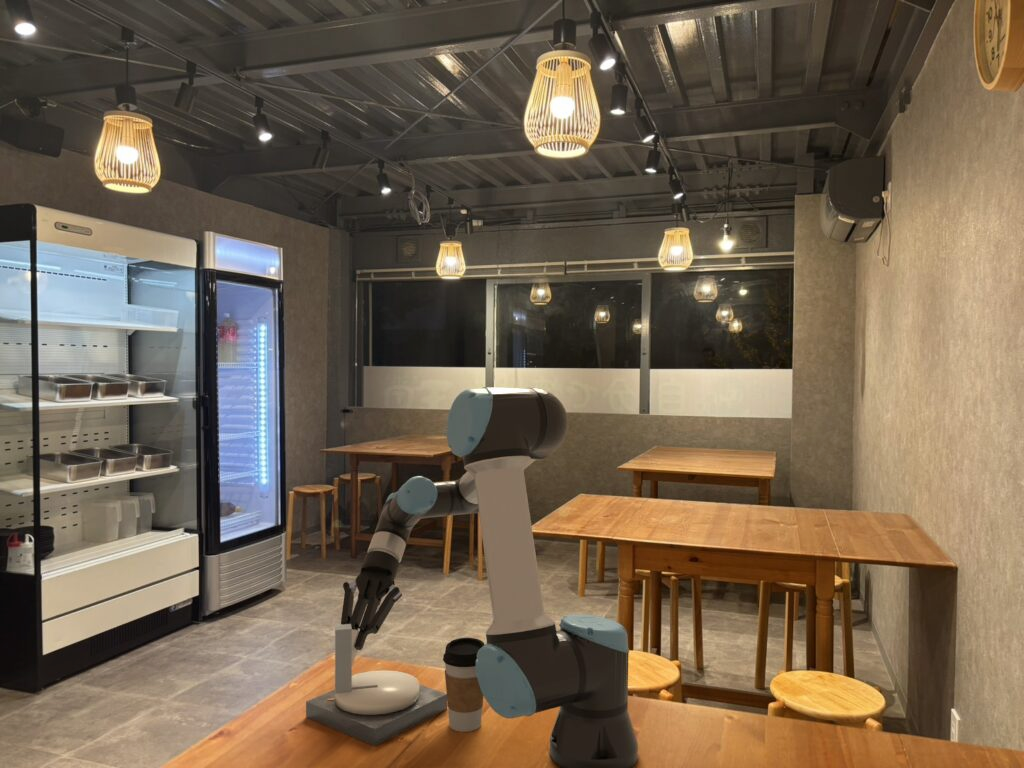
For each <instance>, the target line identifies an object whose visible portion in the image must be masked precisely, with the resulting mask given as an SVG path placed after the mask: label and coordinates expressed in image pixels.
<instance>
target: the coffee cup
mask: <svg viewBox="0 0 1024 768" xmlns="http://www.w3.org/2000/svg"><path fill="white" fill-rule="evenodd" d="M484 645H485V642H484V641H483V640H481V639H479V638H475V637H474V638H473V637H459V638H455V639H452V640H451V641H449V642H448V643H447V644H446V646H445V652H444V654H443V657H442V661H443V663H444V665H445V667H444V668H445V669H444V676H445V677H444V678H445V680H444V681H445V690H446V694H447V710H448V724H449V727H450V729H452V730H453V731H457V732H459V733H460V732H462V733H463V732H465V733H467V732H473V731H475V730H478V729H479V728H480V727H481V726H482V725H481V724H482V719H483V717H482V715H483V706H484V705H483V704H484V696H483V694H482V691H481V689H480V686H479V683H478V679H477V674H476V659H477V653H478V651H479V649H480V648H482V647H483V646H484Z"/></svg>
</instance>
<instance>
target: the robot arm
mask: <svg viewBox="0 0 1024 768" xmlns="http://www.w3.org/2000/svg"><path fill="white" fill-rule="evenodd" d="M568 430H569V417H568V413H567V411H566V409H565V406H564V404H563V403H562V402H561V401H560V399H559V398H558V397H557V396H555V395H554V394H553V393H552V392H550V391H547V390H546V389H542V388H537V387H522V388H521V387H487V386H483V387H481V388H479V387H478V388H469V389H465V390H462V391H461V392H460V393H459V394H458V395H457V396H455V399H454V400H453V402H452V404H451V407H450V409H449V412H448V415H447V421H446V441H447V445H448V447H449V448H450V451H451V453H452V454H453V455H455V456H457V457H459V458H462V460H463V468H464V470H465V471H466V472H465V473H464V474H462V476H461V477H460V478H458V479H456V480H447V481H446V480H445V481H435V482H434V481H432V480H431V479H429V478H427V477H424V476H423V475H416V476H413V477H411V478H409V479H408V480H407V481H406V482H405V483H403V484H402V485H401V486H400V488H399V489H398V490H397V491H396V492H392V493H390V494H389V495H388V496H387V499H386V501H385V503H384V504H383V506H382V510H381V514H380V517H379V520H378V521H377V525H376V527H375V531H374V533H373V535H372V538H371V540H370V543H369V546H368V549H367V553H366V554H365V557H364V560H363V563H362V564H361V568H360V573H359V574H358V575H357V576H356V577H355V580H354V581H351V582H348V581H345V582H343V583H342V587H343V591H344V593H343V594H344V595H343V602H342V603H343V604H342V609H341V610H342V611H341V617H340V625H343V624H351V627H352V667H353V666H354V662H355V659H356V657H357V654H358V651H362V649H363V647H364V645H365V642H366V639H367V637H368V635H370V634H374V635H375V634H376V635H377V634H378V632H379V631H380V629H381V627H382V626H383V624H384V622H385V620H386V619H387V617H388V615H389V614H390V612H391V610H392V608H393V606H394V605H395V603H396V602H397V601H398V600H399V599H400V598H402V596H403V594H402V591H401V590H400V588H399V587H398V586H396V585H395V579H396V577H397V574H398V572H399V569H400V568H399V567H400V563H401V561H402V558H403V555H404V553H405V550H406V547H407V543H408V540H409V538H410V534H411V531H412V530H413V528H414V527H415V526H416V525H417V524H418V523H419V521H420V520H421V519H428V518H438V517H447V516H457V515H458V516H460V515H468V514H469V515H476V514H478V515H479V523H480V530H481V531H480V532H481V538H482V546H483V553H484V561H485V568H486V575H487V576H486V577H487V585H488V591H489V599H490V606H491V613H492V621H491V623H490V625H489V626H488V627H487V629H486V630H485V638H486V644H485V643H484V644H485V645H484V646H483V647H482V648H480V649H479V651H478V653H477V659H476V674H477V679H478V683H479V686H480V689H481V691H482V694H483V699H485V701H486V702H487V704H488V705H489V707H490V708H491V709H492V710H493V712H494V713H496V714H497V715H498V716H500V717H502V718H505V719H516V718H521V717H531V716H533V715H535V714H538V713H541V712H545V711H548V710H549V711H550V710H552V709H556V708H559V710H558V712H557V715H556V719H555V722H554V725H553V728H552V731H551V734H550V738H549V755H550V758H551V759H552V761H553V762H554V763H556V765H558V766H560V767H561V768H633V767H634V766H635V765H636V763H637V761H638V759H639V745H638V740H637V737H636V734H635V730H634V726H633V723H632V720H631V716H630V714H629V699H628V698H629V653H630V649H629V643H628V642H629V640H628V638H629V637H628V636H629V635H628V632H627V629H626V628H625V627H624V626H623V625H622V624H621V623H619V622H617V621H615V620H612V619H609V618H606V617H601V616H598V615H597V616H596V615H591V614H580V613H579V614H568V615H565V616H563V617H562V618H561V619H560V623H559V625H558V626H559V627H560V629H558V630H557V628H556V622H555V620H553V619H552V618H551V617H550V616H548V615H547V613H546V612H545V608H544V602H543V601H544V600H543V594H542V587H541V581H540V573H539V568H538V561H537V555H536V547H535V541H534V532H533V527H532V521H531V514H530V513H531V512H530V506H529V500H528V492H527V486H526V479H525V473H524V471H525V470H526V469H527V468H528V467H529V466H531V464H533V462H535V461H542V460H545V459H547V458H548V457H549V456H551V455H552V454H553V453H554V452H555V451H557V450H558V449H559V447H560V446H561V445H562V444H563V443H564V441H565V439H566V436H567V434H568ZM356 589H357V590H358V595H357V600H356V603H355V605H354V601H355V600H354V599H355V595H354V594H356ZM384 597H385V598H384ZM383 598H384V599H383ZM382 599H383V601H382ZM381 601H382V602H381Z"/></svg>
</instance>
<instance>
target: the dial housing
mask: <svg viewBox="0 0 1024 768" xmlns="http://www.w3.org/2000/svg"><path fill="white" fill-rule="evenodd" d="M447 710H448V702H447V692H443V691H440V690H437V689H434V688H432V687H428V686H424V685H421V684H419V698H418V700H417V701H416V702H415V703H414V704H412V705H411V706H409V707H407V708H405V709H402V710H399V711H396V712H392V713H387V714H378V715H363V714H355V713H351V712H347V711H345V710H343V709H341V708H339V707H338V706H337V705H336V703H335V689H333V690H330V691H329V692H326V693H323V694H321V695H319V696H315V697H314V698H311V699H308V700H306V702H305V718H308V719H309V718H310V719H309V720H312V719H313V720H312V721H314V722H316V721H317V723H318V724H322V725H323V724H324V726H326V727H329V728H331V729H334V730H336V731H338V732H340V733H342V734H345V735H347V736H350V737H353V738H354V739H356V740H359V741H361V742H364V743H367V744H369V745H371V746H373V747H376V746H378V745H380V744H382V743H384V742H387V741H388V740H390V739H392V738H394V737H397V736H398V735H400V734H402V733H404V732H406V731H408V730H409V729H411V728H413V727H416V726H417V725H419V724H422V723H423V722H425V721H427V720H429V719H431V718H432V717H435V716H437V715H439V714H440V713H442V712H445V711H447Z"/></svg>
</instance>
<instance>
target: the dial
mask: <svg viewBox="0 0 1024 768" xmlns="http://www.w3.org/2000/svg"><path fill="white" fill-rule="evenodd" d="M352 668H353V666H352V627H351V624H343V625H341V624H335V625H334V690H335V703H336V705H337V706H338V707H339V708H341V709H343V710H345V711H347V712H351V713H355V714H363V715H378V714H387V713H392V712H396V711H399V710H402V709H405V708H407V707H409V706H411V705H412V704H414V703H415V702H416V701H417V700H418V698H419V685H420V682H419V679H417V677H416V676H413V675H412V674H409V673H407V672H402V671H396V670H385V669H383V670H371V671H370V670H369V671H365V672H359V673H355V674H352V673H353V671H352V670H353V669H352Z"/></svg>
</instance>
